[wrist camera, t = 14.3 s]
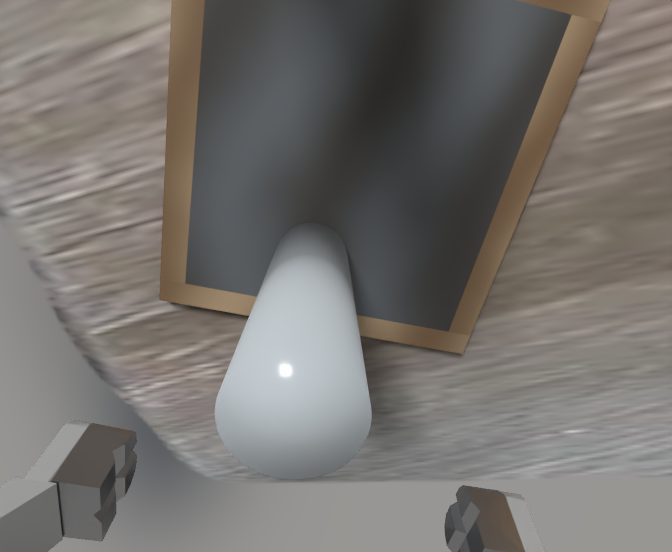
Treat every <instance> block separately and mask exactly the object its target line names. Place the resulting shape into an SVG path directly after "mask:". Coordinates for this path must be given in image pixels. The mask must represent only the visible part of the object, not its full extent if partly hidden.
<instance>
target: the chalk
mask: <svg viewBox="0 0 672 552" xmlns="http://www.w3.org/2000/svg"><path fill="white" fill-rule="evenodd" d="M371 420H372V410H371V404H370V397H369V391H368V385H367V378H366V372H365V365H364V359H363V352H362V346H361V339H360V333H359V327H358V320H357V314H356V307H355V301H354V294H353V288H352V281H351V275H350V269H349V262H348V256H347V250H346V246H345V244H344V242H343V240H342V238H341V237H340V236H339V235H338V234H337V233H336V232H335V231H334V230H333V229H331V228H330V227H328V226H326V225H323V224H319V223H303V224H299V225H297V226H294V227H293V228H291V229H289V230H288V231H287V232H286V233H285V234H284V235H283V236H282V238H281V239H280V241H279V243H278V245H277V248H276V250H275V253H274V255H273V258H272V260H271V263H270V265H269V268H268V270H267V273H266V275H265V278H264V280H263V283H262V285H261V288H260V290H259V293H258V295H257V298H256V300H255V303H254V305H253V308H252V310H251V313H250V315H249V318H248V320H247V323H246V325H245V328H244V330H243V333H242V335H241V338H240V340H239V343H238V345H237V348H236V351H235V353H234V356H233V358H232V361H231V363H230V366H229V368H228V371H227V373H226V376H225V378H224V381H223V383H222V386H221V388H220V391H219V393H218V396H217V399H216V405H215V421H216V427H217V430H218V433H219V435H220V438H221V440H222V442H223V443H224V445H225V446H226V448H227V449H228V450H229V451H230V453H231V454H232V455H233V456H234V457H235V458H236V459H237V460H239V461H240V462H241V463H242V464H244V465H245V466H247V467H248V468H250V469H252V470H254V471H256V472H258V473H261V474H263V475H266V476H270V477H273V478H278V479H285V480H304V479H311V478H316V477H319V476H323V475H326V474H328V473H331V472H333V471H335V470H337V469H339V468H340V467H342V466H343V465H345V464H346V463H347V462H349V461H350V460H351V459H352V458H353V457H354V456H355V455H356V454H357V453H358V452H359V450H360V449H361V447H362V446H363V444H364V443H365V441H366V439H367V436H368V434H369V430H370V427H371Z"/></svg>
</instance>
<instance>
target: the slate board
mask: <svg viewBox="0 0 672 552" xmlns="http://www.w3.org/2000/svg"><path fill="white" fill-rule="evenodd" d="M609 3H610V0H172V7H171V32H170V56H169V81H168V105H167V129H166V154H165V178H164V203H163V227H162V251H161V276H160V300H163V301H168V302H174V303H179V304H185V305H191V306H196V307H202V308H207V309H213V310H219V311H224V312H230V313H235V314H241V315H247V316H249V315H250V313H251V310H252V308H253V305H254V303H255V300H256V298H257V295H258V293H259V290H260V288H261V285H262V283H263V280H264V278H265V275H266V273H267V270H268V268H269V265H270V263H271V260H272V258H273V255H274V253H275V250H276V248H277V245H278V243H279V241H280V239H281V238H282V236H283V235H284V234H285V233H286V232H287V231H288V230H289V229H291V228H293V227H294V226H297V225H299V224H303V223H319V224H323V225H326V226H328V227H330V228H331V229H333V230H334V231H335V232H336V233H337V234H338V235H339V236H340V237H341V238H342V240H343V242H344V244H345V246H346V250H347V256H348V262H349V269H350V275H351V281H352V288H353V294H354V301H355V307H356V314H357V320H358V327H359V333H360V336H364V337H370V338H376V339H381V340H387V341H392V342H398V343H404V344H409V345H415V346H420V347H426V348H432V349H437V350H443V351H448V352H454V353H460V354H463V352H464V350H465V347H466V345H467V342H468V340H469V338H470V335H471V333H472V330H473V328H474V326H475V323H476V321H477V318H478V316H479V314H480V311H481V309H482V306H483V304H484V302H485V299H486V297H487V295H488V292H489V290H490V287H491V285H492V283H493V280H494V278H495V275H496V273H497V271H498V268H499V266H500V263H501V261H502V259H503V256H504V254H505V251H506V249H507V247H508V244H509V242H510V239H511V237H512V235H513V232H514V230H515V228H516V225H517V223H518V220H519V218H520V216H521V213H522V211H523V208H524V206H525V204H526V201H527V199H528V196H529V194H530V192H531V189H532V187H533V184H534V182H535V180H536V177H537V175H538V173H539V170H540V168H541V165H542V163H543V161H544V158H545V156H546V153H547V151H548V149H549V146H550V144H551V141H552V139H553V137H554V134H555V132H556V129H557V127H558V125H559V122H560V120H561V118H562V115H563V113H564V110H565V108H566V106H567V103H568V101H569V98H570V96H571V94H572V91H573V89H574V86H575V84H576V82H577V79H578V77H579V74H580V72H581V70H582V67H583V65H584V62H585V60H586V58H587V55H588V53H589V51H590V48H591V46H592V43H593V41H594V39H595V36H596V34H597V31H598V29H599V27H600V24H601V22H602V19H603V17H604V15H605V12H606V10H607V7H608V5H609Z"/></svg>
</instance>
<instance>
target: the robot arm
mask: <svg viewBox="0 0 672 552" xmlns="http://www.w3.org/2000/svg"><path fill="white" fill-rule="evenodd" d="M136 443H137V433H136V432H135V431H130V430H125V429H120V428H115V427H110V426H105V425H99V424H94V423H88V422H83V421H77V420H72V419H71V420H70V421H69V422H67V423H66V424H65V425H64V426H63V427H62V428H61V430H60V431H59V432H58V434H57V435H56V436H55V437H54V439H53V440H52V441H51V443H50V444H49V445H48V447H47V448H46V449H45V451H44V452H43V453H42V455H41V456H40V457H39V459H38V460H37V461H36V462H35V464H34V465H33V467H32V468H31V469H30V470H29V472H28V473H27V474H26V476H25V477H24V478H22V477H16V478H14V479H12V480H10V481H9V482H7V483H5V484H3V485H1V486H0V552H48V551H49V550H50V549H51V548H53V547H54V546H55V545H56V544H57V543H59V542H60V541H61V540H62V539H63V537H69V538H77V539H86V540H95V541H103V539H104V537H105V535H106V533H107V531H108V529H109V527H110V525H111V523H112V521H113V519H114V517H115V515H116V502H117V501H118V500H120V499H121V498H123V497H124V496H125V495H126V493H127V491H128V489H129V486H130V485H131V482H132V479H133V476H134V472H135V468H136V463H137V455H136V453H135V452H134V451H133V448H134V446H135V445H136ZM456 497H457V501H458V502H456V503H454V504H453V505H451V506H450V507H449V509H448V512H447V514H446V520H445V537H446V543H447V546H448V548H449V549H450V550H451V551H452V552H545V549H544V546H543V544H542V542H541V539H540V537H539V534H538V532H537V529H536V527H535V524H534V522H533V520H532V517H531V514H530V512H529V510H528V507H527V505H526V502H525V500H524V498H523V497H522V496H521V495H518V494H513V493H506V492H500V491H497V490H491V489H484V488H477V487H471V486H464V485H463V486H461V487H460V488H459V489H458V491H457V493H456Z"/></svg>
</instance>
